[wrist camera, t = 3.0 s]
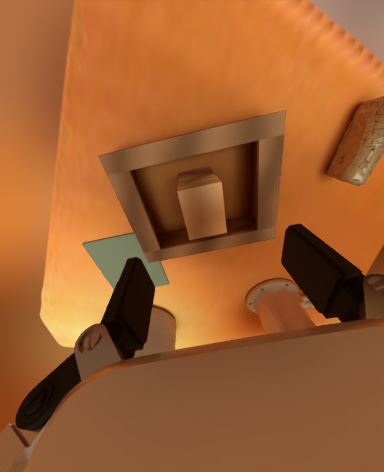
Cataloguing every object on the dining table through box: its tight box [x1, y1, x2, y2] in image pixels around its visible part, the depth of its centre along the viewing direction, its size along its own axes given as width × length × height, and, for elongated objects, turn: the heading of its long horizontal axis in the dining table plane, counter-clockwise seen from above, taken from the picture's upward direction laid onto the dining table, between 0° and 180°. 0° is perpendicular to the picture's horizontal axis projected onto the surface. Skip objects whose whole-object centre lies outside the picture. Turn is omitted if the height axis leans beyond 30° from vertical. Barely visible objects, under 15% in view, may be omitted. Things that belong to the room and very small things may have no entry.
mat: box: [82, 233, 169, 289], centre depth 32 cm, size 12×14×1 cm
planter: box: [134, 307, 176, 358], centre depth 37 cm, size 16×16×16 cm
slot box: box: [98, 110, 286, 263], centre depth 23 cm, size 19×15×6 cm
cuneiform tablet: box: [327, 96, 384, 186], centre depth 19 cm, size 7×4×12 cm
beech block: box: [177, 166, 227, 240], centre depth 21 cm, size 4×6×9 cm
